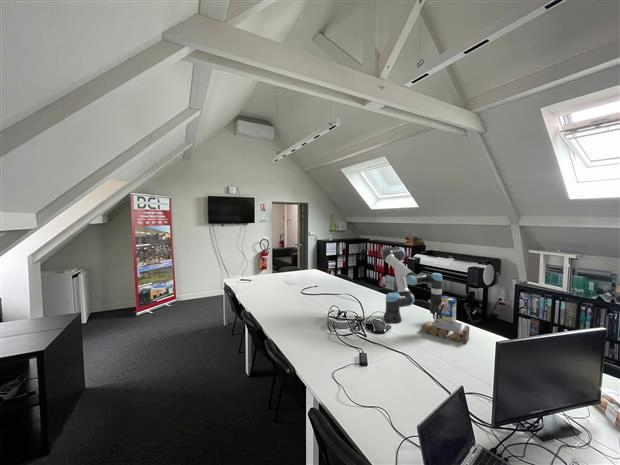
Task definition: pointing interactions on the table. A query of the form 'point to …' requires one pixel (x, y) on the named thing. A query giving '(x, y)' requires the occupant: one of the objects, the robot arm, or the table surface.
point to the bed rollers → (434, 329)
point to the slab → (448, 325)
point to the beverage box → (448, 309)
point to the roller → (457, 336)
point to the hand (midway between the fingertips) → (435, 322)
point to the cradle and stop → (463, 335)
